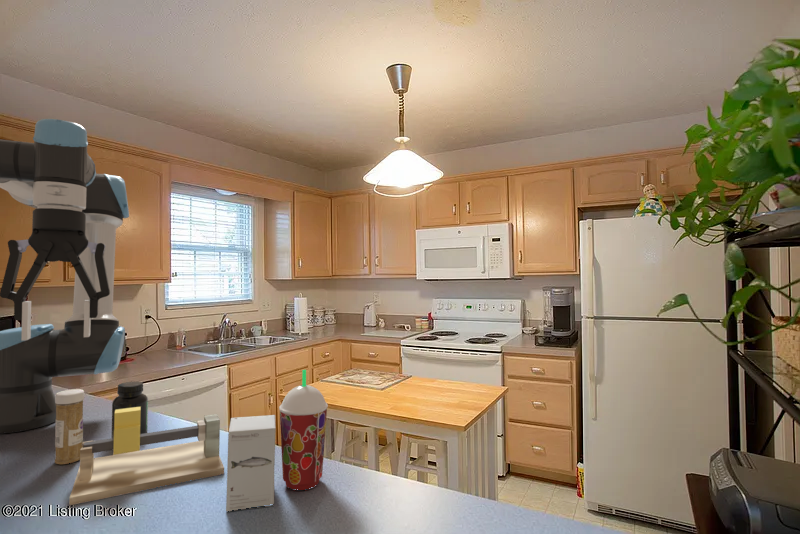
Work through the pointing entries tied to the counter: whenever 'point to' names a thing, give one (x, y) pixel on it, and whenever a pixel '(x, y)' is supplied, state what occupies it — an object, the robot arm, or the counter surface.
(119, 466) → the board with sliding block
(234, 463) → the supplement box
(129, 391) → the supplement bottle
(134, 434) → the sleeve
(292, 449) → the smoothie
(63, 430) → the sprinkles bottle
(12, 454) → the counter surface
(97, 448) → the gray square bar
